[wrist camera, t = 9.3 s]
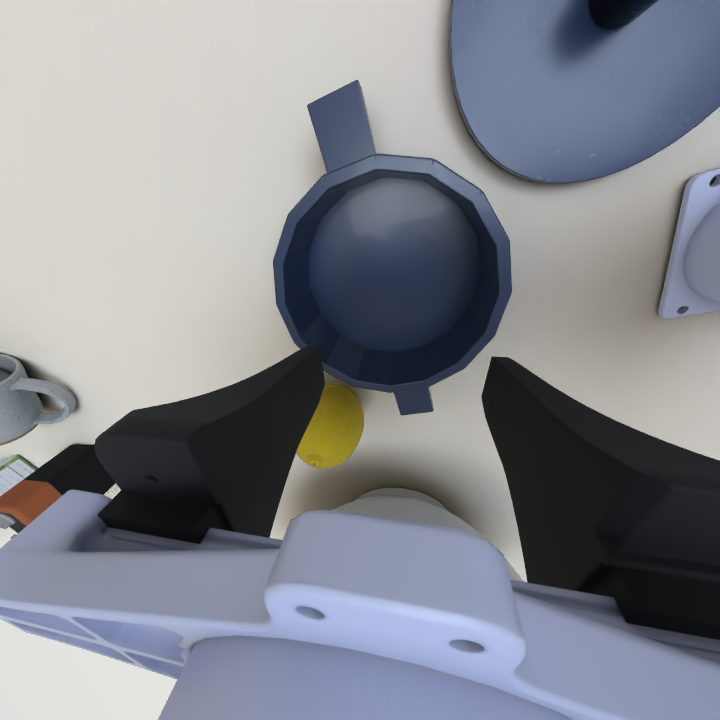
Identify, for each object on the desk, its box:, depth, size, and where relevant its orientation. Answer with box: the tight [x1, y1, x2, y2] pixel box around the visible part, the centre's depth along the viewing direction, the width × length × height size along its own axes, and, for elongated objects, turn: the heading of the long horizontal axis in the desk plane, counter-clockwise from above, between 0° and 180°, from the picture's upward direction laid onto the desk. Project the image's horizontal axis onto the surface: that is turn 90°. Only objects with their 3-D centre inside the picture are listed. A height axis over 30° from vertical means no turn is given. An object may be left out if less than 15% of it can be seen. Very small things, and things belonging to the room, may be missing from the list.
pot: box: [273, 80, 512, 415], centre depth 17 cm, size 13×18×5 cm
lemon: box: [296, 384, 364, 468], centre depth 22 cm, size 6×6×8 cm
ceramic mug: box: [0, 354, 76, 446], centre depth 29 cm, size 11×8×8 cm
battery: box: [0, 445, 116, 539], centre depth 34 cm, size 4×7×10 cm, turn 5°
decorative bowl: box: [334, 488, 524, 582], centre depth 29 cm, size 27×27×12 cm
